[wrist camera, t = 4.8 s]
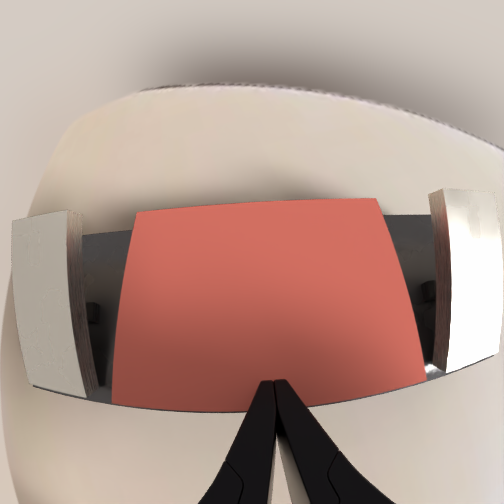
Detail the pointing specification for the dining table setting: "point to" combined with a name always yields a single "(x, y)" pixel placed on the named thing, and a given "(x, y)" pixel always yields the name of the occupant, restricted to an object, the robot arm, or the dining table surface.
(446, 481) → the dining table surface
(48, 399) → the dining table surface
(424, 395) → the dining table surface
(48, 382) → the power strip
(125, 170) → the dining table surface
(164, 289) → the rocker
